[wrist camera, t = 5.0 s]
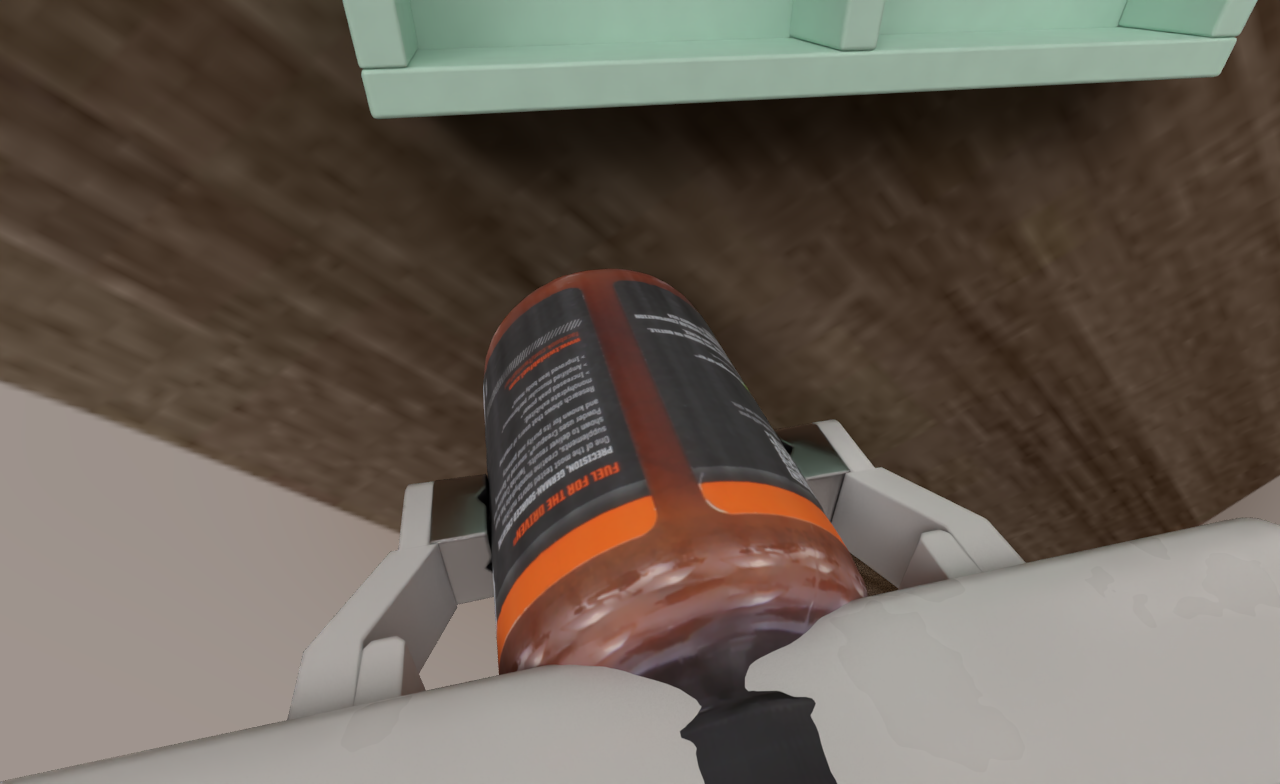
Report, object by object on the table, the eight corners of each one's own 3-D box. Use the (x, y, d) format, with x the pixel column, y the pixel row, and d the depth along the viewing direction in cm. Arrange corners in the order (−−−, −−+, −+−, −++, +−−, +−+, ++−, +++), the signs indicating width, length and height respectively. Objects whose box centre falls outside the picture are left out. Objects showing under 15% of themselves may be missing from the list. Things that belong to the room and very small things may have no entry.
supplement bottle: (457, 430, 16) (442, 1016, 7) (520, 225, 13) (619, 787, 5) (654, 462, 19) (823, 935, 10) (744, 294, 16) (1098, 751, 7)
